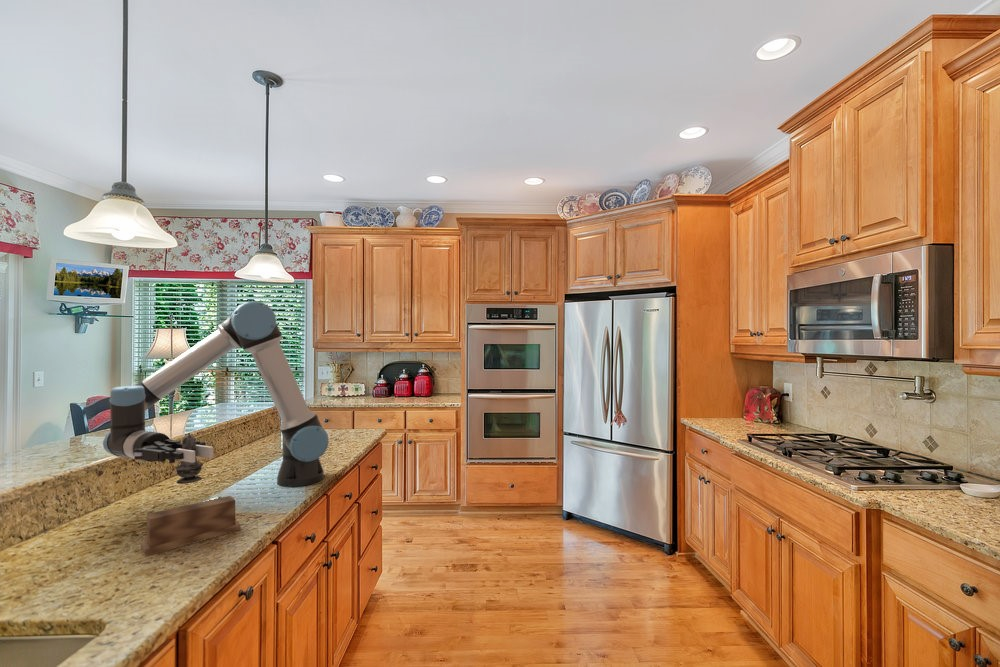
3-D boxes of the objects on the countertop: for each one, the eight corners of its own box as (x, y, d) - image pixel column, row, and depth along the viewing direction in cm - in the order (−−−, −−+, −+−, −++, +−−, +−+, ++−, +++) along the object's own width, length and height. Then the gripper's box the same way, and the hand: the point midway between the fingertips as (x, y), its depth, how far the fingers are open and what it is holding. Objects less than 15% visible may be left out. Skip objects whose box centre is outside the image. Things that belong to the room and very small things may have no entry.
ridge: (233, 523, 125) (233, 494, 125) (240, 530, 120) (240, 499, 120) (141, 547, 111) (141, 514, 111) (144, 556, 106) (144, 521, 106)
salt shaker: (208, 478, 117) (208, 431, 117) (186, 485, 112) (185, 435, 112) (192, 476, 119) (191, 429, 119) (169, 483, 114) (168, 434, 114)
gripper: (181, 452, 131) (235, 461, 121) (111, 468, 116) (166, 479, 106) (180, 426, 131) (234, 432, 121) (111, 438, 116) (165, 446, 106)
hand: (202, 454), depth 113 cm, fingers closed on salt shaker, 4 cm apart
